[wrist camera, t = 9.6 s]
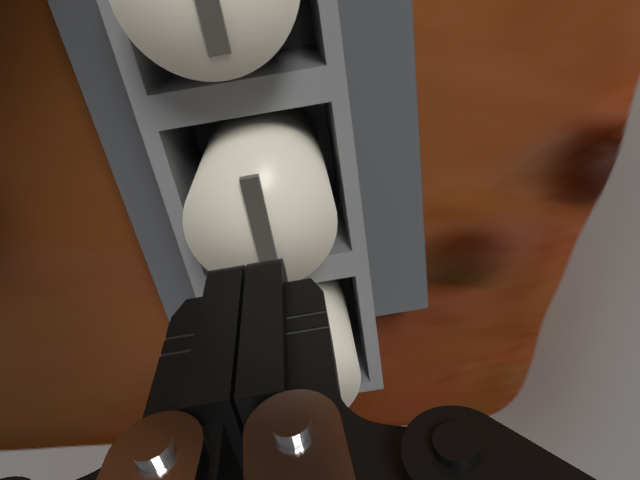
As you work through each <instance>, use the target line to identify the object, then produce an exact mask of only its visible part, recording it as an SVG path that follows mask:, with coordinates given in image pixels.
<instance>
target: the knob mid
mask: <svg viewBox="0 0 640 480" xmlns="http://www.w3.org/2000/svg"><path fill="white" fill-rule="evenodd" d="M182 221H183V230H184V235H185V239H186V241H187V244H188V246H189V248H190V250H191V252H192V253H193V255H194V256H195V258H196V259H197V260H198V262H199V263H200V264H201V265H202V266H203V267H204V268H205V269H206V270H208V271H210V270H216V269H222V268H227V267H233V266H239V265H245V266H246V265H247V264H250V263H256V262H262V261H268V260H274V259H280V258H282V259H283V262H284V265H285V269H286V274H287V278H288V282H290V281H296V280H302V279H303V278H305V277H306V276H308V275H310V274H311V273H312V272H313V271H314V270H316V269H317V268H318V267H319V266H320V265H321V264H322V263H323V261H324V260H325V259H326V257H327V256H328V254H329V252H330V250H331V249H332V246H333V244H334V241H335V238H336V233H337V224H338V220H337V211H336V206H335V202H334V198H333V194H332V190H331V186H330V182H329V178H328V174H327V170H326V166H325V161H324V157H323V153H322V149H321V145H320V141H319V137H318V134H317V132H316V130H315V128H314V126H313V124H312V123H311V121H310V120H309V118H308V117H307V116H306V115H305V114H304V113H303V112H302V111H300V110H299V109H298V108H292V109H286V110H280V111H274V112H268V113H262V114H257V115H251V116H245V117H239V118H233V119H227V120H221V121H217V123H216V125H215V126H214V128H213V131H212V133H211V136H210V139H209V141H208V144H207V146H206V149H205V151H204V154H203V157H202V159H201V162H200V164H199V167H198V170H197V172H196V175H195V177H194V180H193V182H192V185H191V188H190V190H189V193H188V195H187V198H186V201H185V204H184V209H183V220H182Z"/></svg>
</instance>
